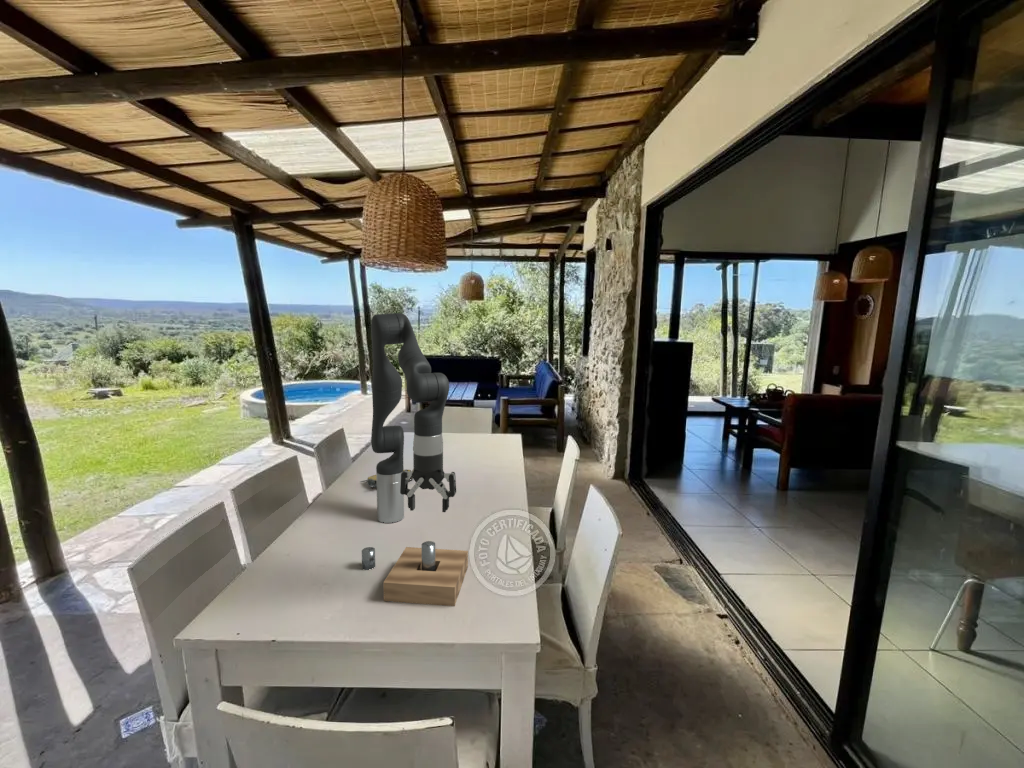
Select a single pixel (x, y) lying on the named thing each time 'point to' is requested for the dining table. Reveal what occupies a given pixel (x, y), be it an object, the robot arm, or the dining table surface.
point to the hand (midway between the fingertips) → (428, 510)
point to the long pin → (428, 556)
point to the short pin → (368, 558)
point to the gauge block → (426, 578)
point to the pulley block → (373, 481)
